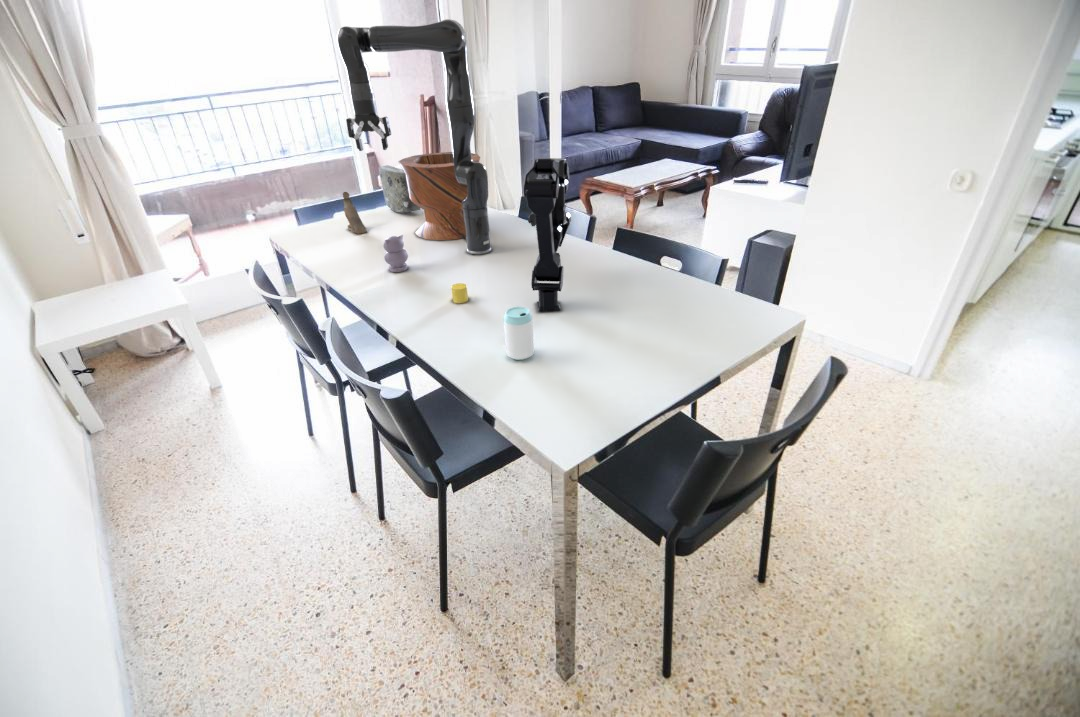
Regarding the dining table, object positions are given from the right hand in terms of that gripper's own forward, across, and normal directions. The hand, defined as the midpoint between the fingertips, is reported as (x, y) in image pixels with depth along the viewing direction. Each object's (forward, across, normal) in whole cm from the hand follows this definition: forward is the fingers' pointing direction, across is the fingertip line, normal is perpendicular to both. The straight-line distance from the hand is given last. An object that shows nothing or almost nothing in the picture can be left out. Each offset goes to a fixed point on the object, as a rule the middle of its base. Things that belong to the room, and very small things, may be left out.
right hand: (556, 251), depth 160 cm
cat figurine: (+11, -3, -60) cm, 61 cm away
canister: (+11, +18, -27) cm, 35 cm away
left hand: (-27, -18, -69) cm, 76 cm away
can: (+11, +47, 0) cm, 48 cm away
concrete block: (+11, -78, -96) cm, 124 cm away
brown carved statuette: (+11, -44, -101) cm, 111 cm away
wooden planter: (+11, -51, -59) cm, 79 cm away
